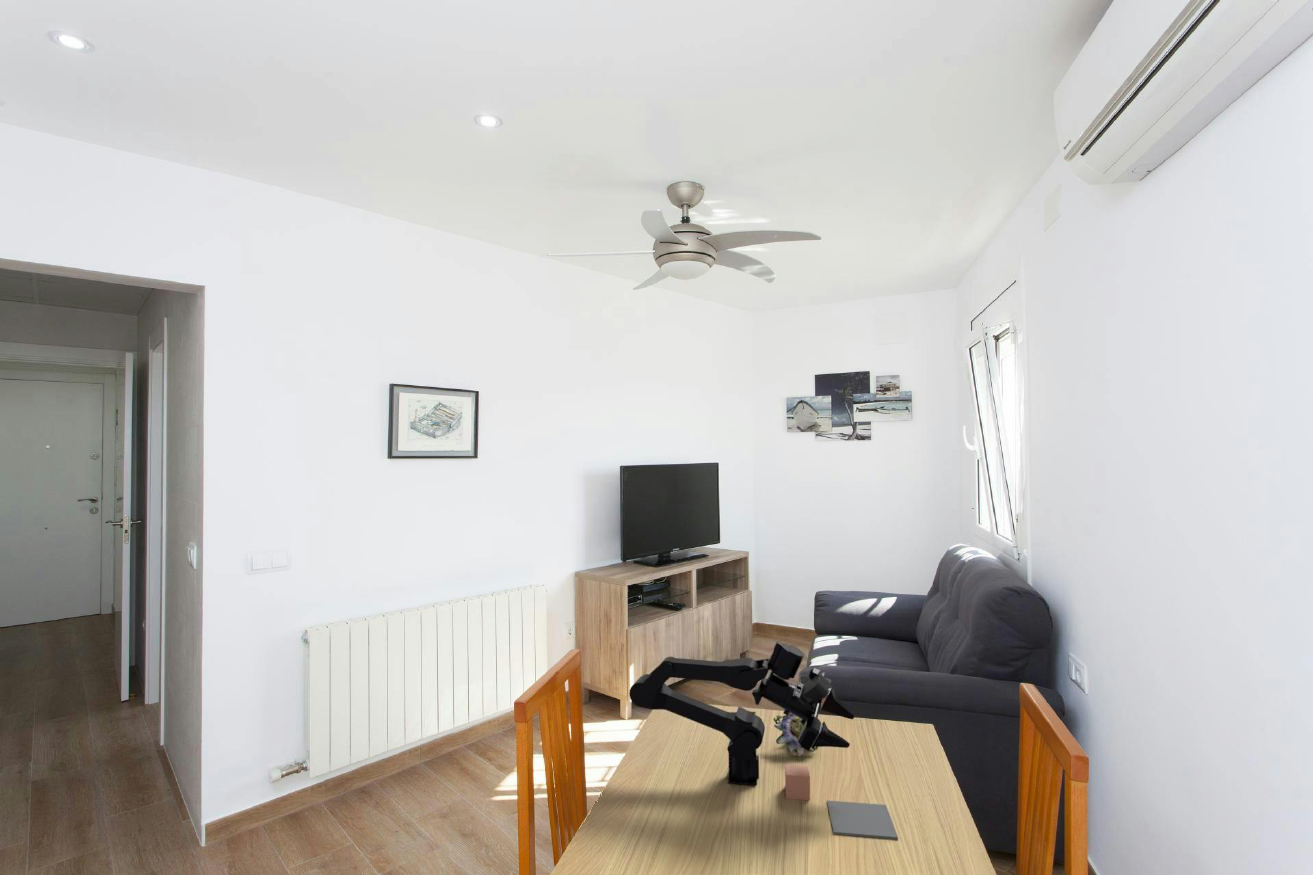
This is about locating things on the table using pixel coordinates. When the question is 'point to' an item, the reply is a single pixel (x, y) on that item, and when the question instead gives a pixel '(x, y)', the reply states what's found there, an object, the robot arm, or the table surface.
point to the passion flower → (790, 732)
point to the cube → (797, 782)
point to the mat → (861, 819)
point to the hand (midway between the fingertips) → (851, 731)
